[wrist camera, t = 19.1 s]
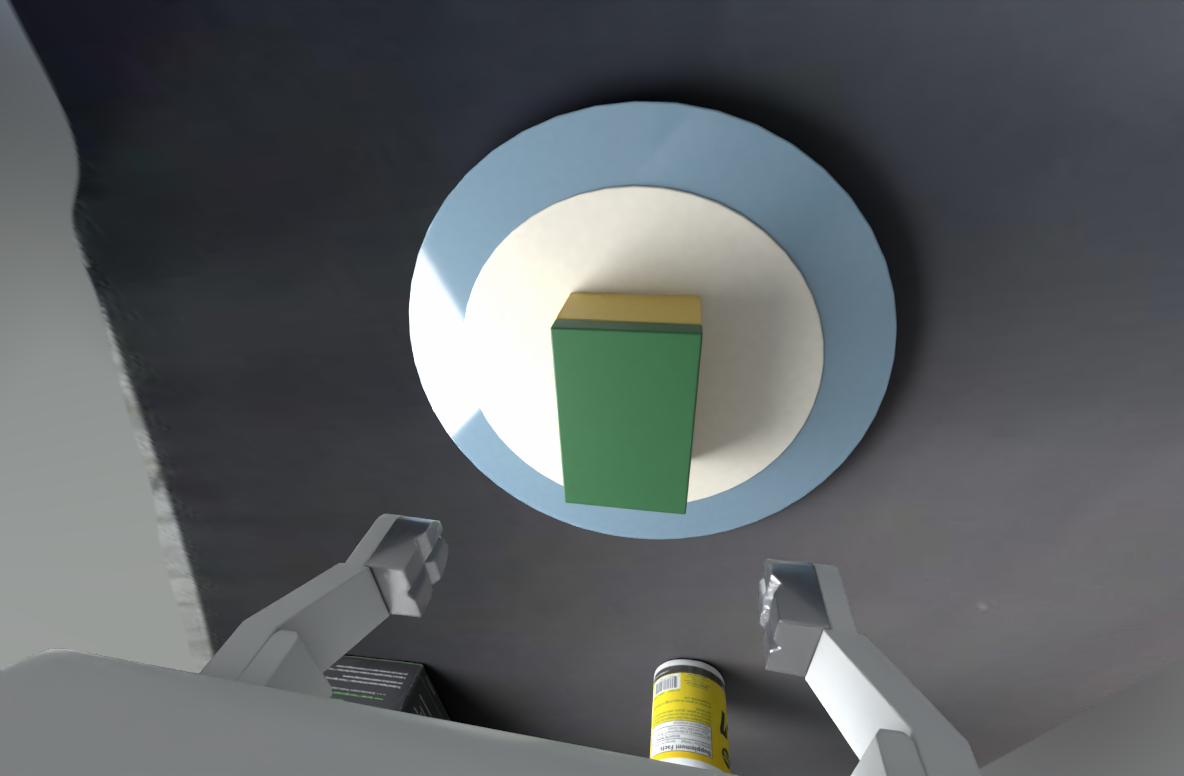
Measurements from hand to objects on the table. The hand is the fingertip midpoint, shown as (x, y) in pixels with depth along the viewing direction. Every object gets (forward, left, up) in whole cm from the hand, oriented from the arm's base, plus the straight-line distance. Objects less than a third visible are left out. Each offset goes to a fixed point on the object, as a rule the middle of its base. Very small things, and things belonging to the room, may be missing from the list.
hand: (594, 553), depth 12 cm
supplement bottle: (+24, +4, -11) cm, 27 cm away
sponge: (+1, 0, -10) cm, 10 cm away
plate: (0, 0, -11) cm, 11 cm away
